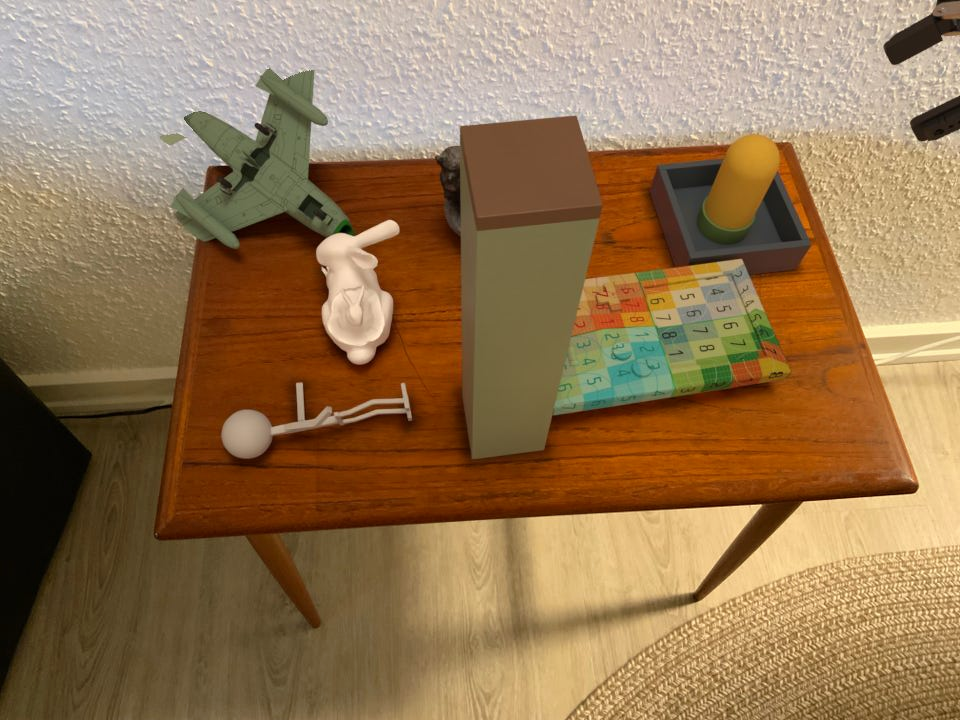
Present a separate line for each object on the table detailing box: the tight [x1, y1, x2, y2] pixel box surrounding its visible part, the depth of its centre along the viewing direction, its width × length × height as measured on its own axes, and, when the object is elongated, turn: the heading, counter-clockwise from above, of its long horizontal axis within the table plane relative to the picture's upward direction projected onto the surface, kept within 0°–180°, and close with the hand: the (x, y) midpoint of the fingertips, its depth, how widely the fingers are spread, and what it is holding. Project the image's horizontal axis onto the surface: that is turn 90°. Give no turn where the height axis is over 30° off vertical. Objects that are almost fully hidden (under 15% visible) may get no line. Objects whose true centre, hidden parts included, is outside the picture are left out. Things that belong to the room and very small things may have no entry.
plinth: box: [459, 114, 604, 460], centre depth 49 cm, size 6×6×30 cm
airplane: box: [158, 67, 355, 250], centre depth 73 cm, size 24×23×10 cm
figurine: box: [220, 382, 413, 459], centre depth 59 cm, size 6×6×15 cm
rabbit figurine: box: [315, 219, 401, 366], centre depth 63 cm, size 12×8×10 cm, turn 10°
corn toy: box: [697, 133, 781, 244], centre depth 67 cm, size 5×5×11 cm
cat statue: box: [434, 145, 461, 238], centre depth 67 cm, size 12×7×10 cm, turn 86°
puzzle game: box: [552, 259, 792, 416], centre depth 63 cm, size 12×5×20 cm
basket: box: [649, 157, 812, 276], centre depth 71 cm, size 11×11×4 cm
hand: (900, 92), depth 58 cm, fingers open, 8 cm apart
